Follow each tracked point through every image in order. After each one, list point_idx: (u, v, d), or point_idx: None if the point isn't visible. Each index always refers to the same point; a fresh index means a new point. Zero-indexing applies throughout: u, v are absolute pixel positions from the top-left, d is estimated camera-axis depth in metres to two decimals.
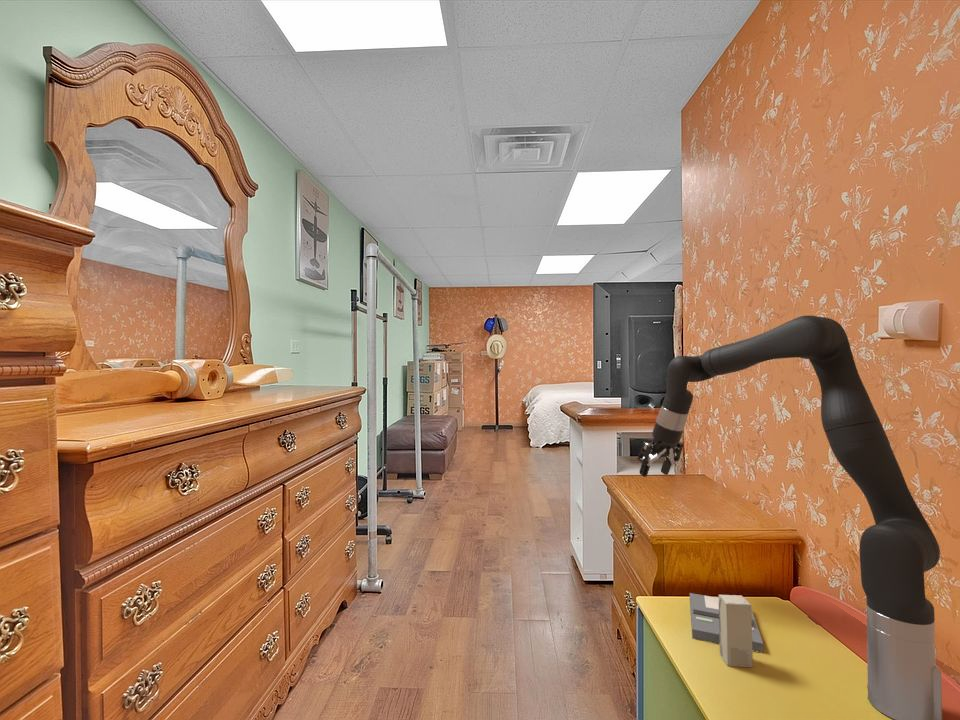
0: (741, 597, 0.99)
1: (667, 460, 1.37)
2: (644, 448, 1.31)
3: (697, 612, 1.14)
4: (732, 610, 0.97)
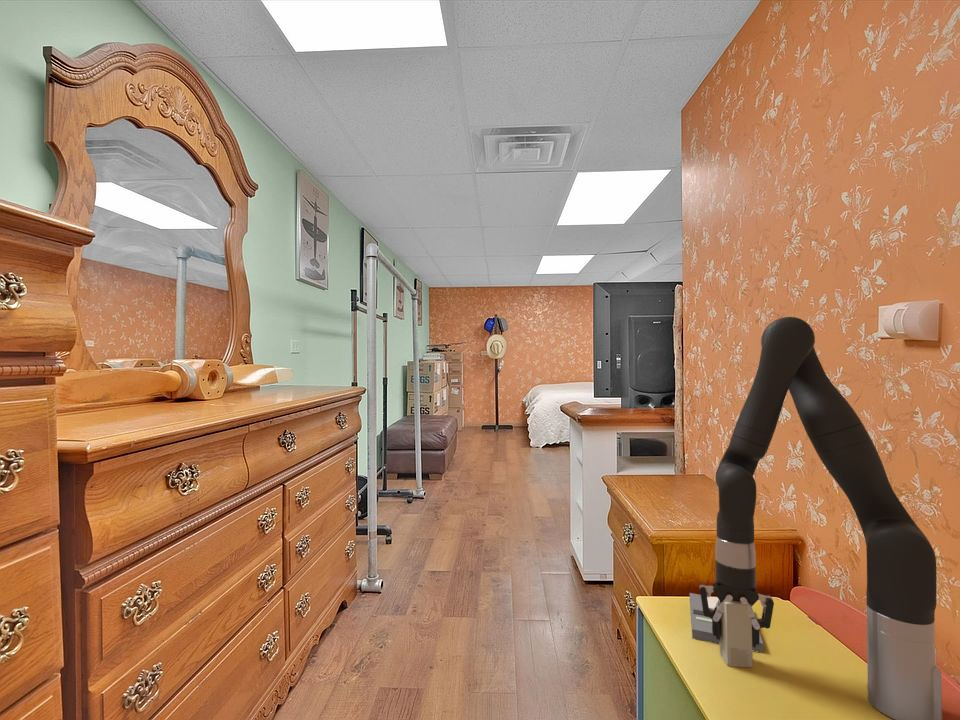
0: None
1: None
2: None
3: (697, 612, 1.14)
4: (732, 610, 0.97)
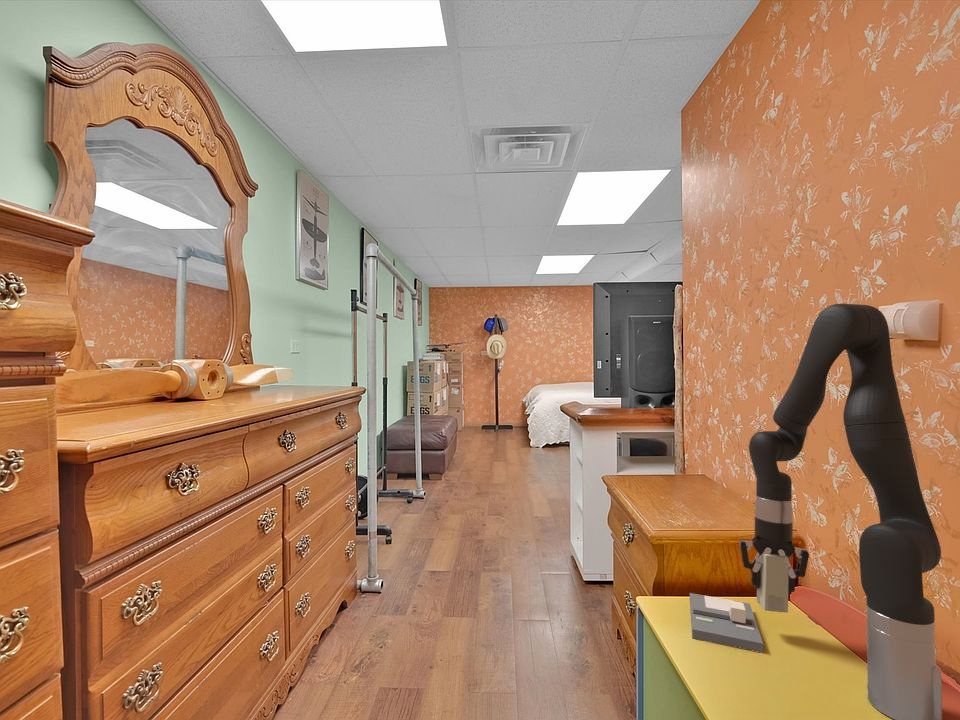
0: None
1: None
2: (741, 547, 1.12)
3: (697, 612, 1.14)
4: (771, 561, 1.07)
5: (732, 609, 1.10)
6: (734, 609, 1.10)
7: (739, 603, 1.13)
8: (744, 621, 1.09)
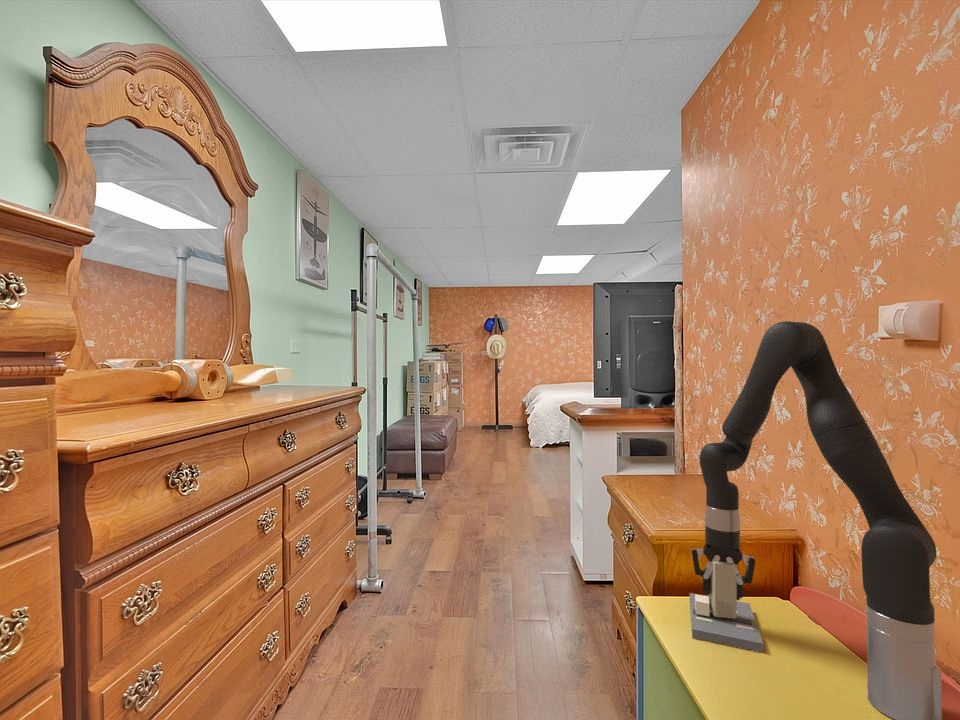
0: None
1: None
2: None
3: None
4: (719, 569, 1.11)
5: (697, 603, 1.13)
6: (699, 602, 1.13)
7: (704, 596, 1.15)
8: (708, 614, 1.12)
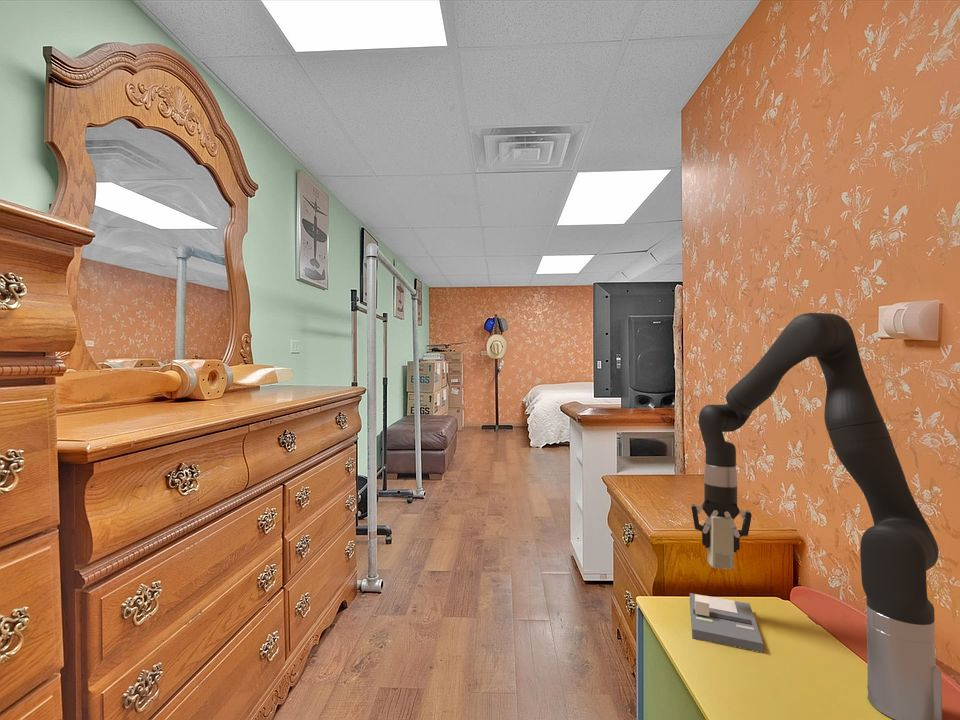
0: None
1: None
2: None
3: None
4: (717, 523, 1.18)
5: (696, 602, 1.13)
6: (698, 602, 1.13)
7: (704, 596, 1.16)
8: (708, 614, 1.12)
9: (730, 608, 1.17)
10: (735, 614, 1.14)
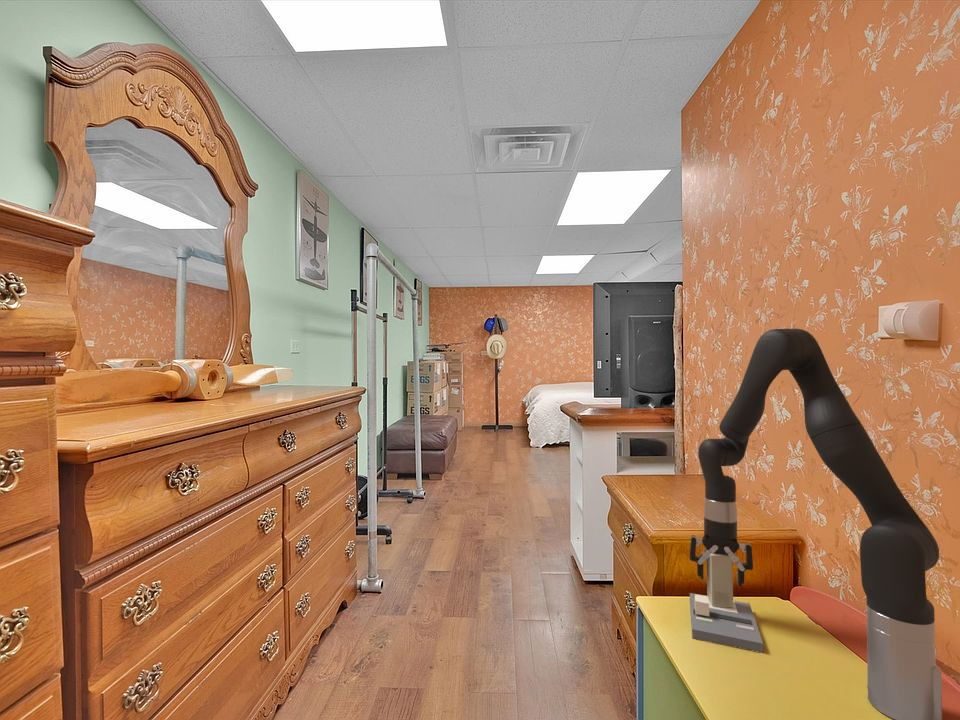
0: None
1: (738, 567, 1.18)
2: (691, 542, 1.22)
3: None
4: (716, 560, 1.18)
5: (696, 602, 1.13)
6: (698, 602, 1.13)
7: (704, 596, 1.16)
8: (708, 614, 1.12)
9: (730, 608, 1.17)
10: (735, 614, 1.14)
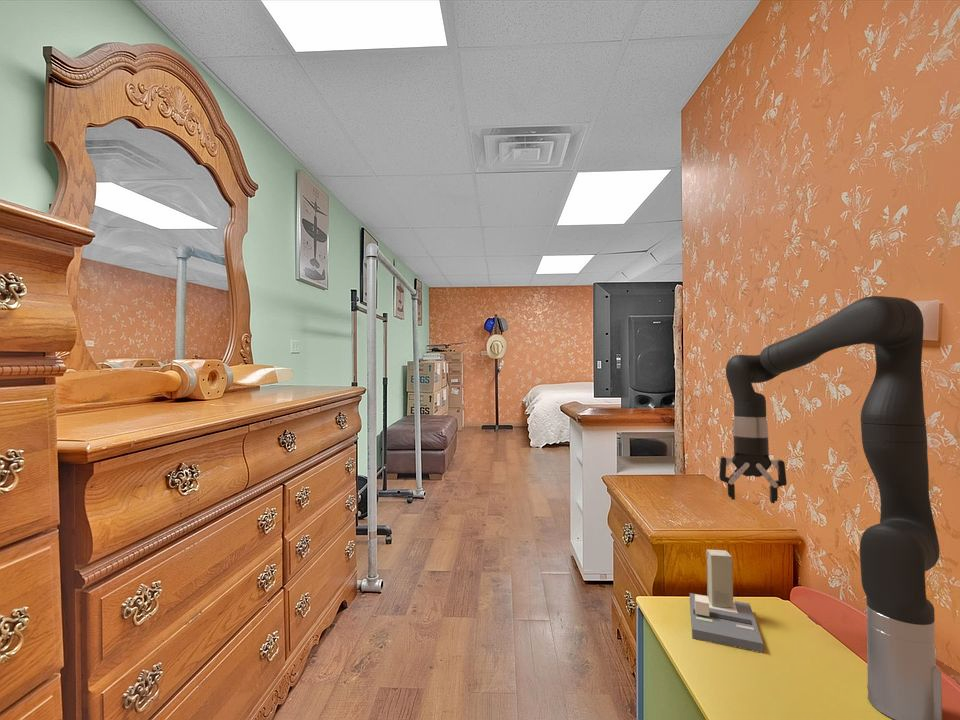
0: (725, 551, 1.20)
1: None
2: (720, 463, 1.19)
3: None
4: (716, 560, 1.18)
5: (696, 602, 1.13)
6: (698, 602, 1.13)
7: (704, 596, 1.16)
8: (708, 614, 1.12)
9: (730, 608, 1.17)
10: (735, 614, 1.14)
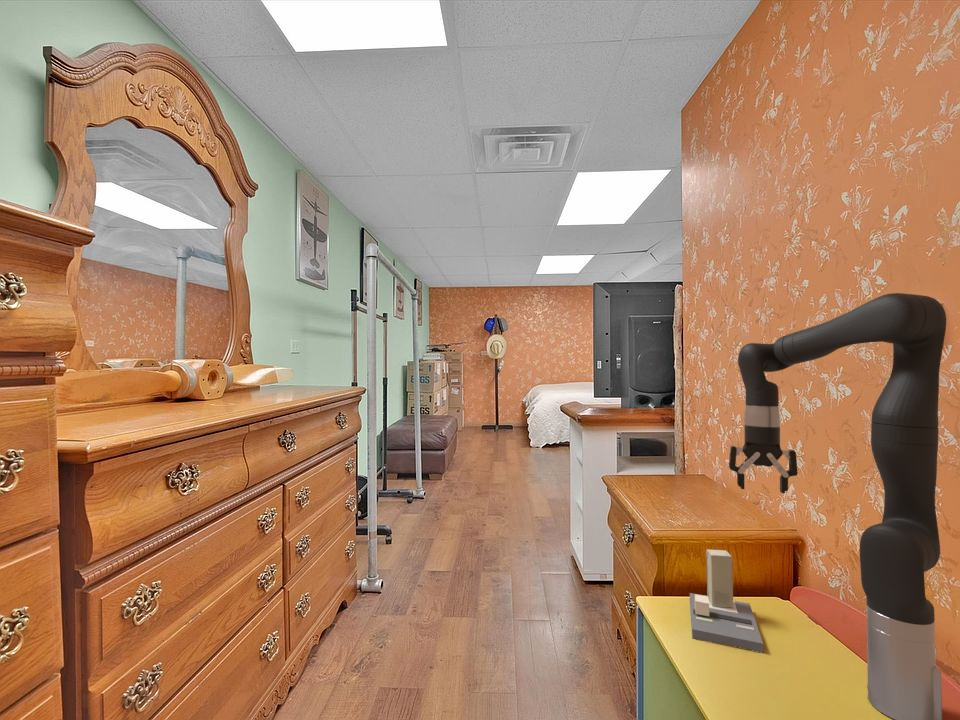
0: (725, 551, 1.20)
1: (781, 474, 1.14)
2: (730, 452, 1.18)
3: None
4: (716, 560, 1.18)
5: (696, 602, 1.13)
6: (698, 602, 1.13)
7: (704, 596, 1.16)
8: (708, 614, 1.12)
9: (730, 608, 1.17)
10: (735, 614, 1.14)
